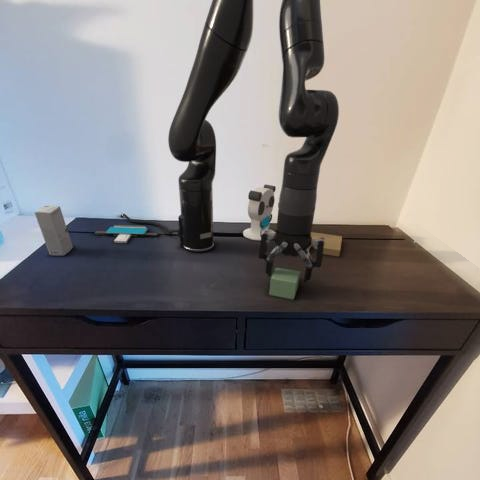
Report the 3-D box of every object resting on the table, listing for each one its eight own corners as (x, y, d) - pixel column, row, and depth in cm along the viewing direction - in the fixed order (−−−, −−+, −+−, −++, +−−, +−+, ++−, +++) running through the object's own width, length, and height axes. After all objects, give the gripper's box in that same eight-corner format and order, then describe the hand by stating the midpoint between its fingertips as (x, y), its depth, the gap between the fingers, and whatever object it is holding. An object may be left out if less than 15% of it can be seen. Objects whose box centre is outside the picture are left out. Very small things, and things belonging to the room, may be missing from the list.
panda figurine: (265, 244, 100) (270, 195, 91) (235, 236, 104) (237, 188, 95) (281, 233, 108) (287, 187, 99) (253, 225, 113) (256, 181, 104)
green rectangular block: (269, 294, 75) (270, 278, 72) (277, 277, 82) (279, 261, 80) (293, 299, 74) (296, 283, 71) (299, 281, 81) (302, 265, 78)
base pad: (293, 249, 97) (293, 243, 96) (298, 236, 106) (299, 230, 105) (338, 256, 94) (340, 250, 93) (340, 242, 103) (342, 236, 102)
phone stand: (87, 242, 96) (86, 236, 95) (101, 228, 105) (100, 223, 104) (152, 244, 96) (152, 239, 95) (160, 230, 106) (160, 225, 105)
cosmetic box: (65, 256, 88) (51, 212, 80) (48, 255, 87) (33, 212, 80) (73, 247, 93) (61, 205, 85) (58, 247, 92) (44, 205, 85)
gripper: (332, 207, 66) (319, 275, 76) (267, 200, 69) (262, 266, 79) (330, 218, 60) (316, 290, 70) (258, 210, 63) (254, 280, 73)
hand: (287, 277), depth 74 cm, fingers open, 8 cm apart
